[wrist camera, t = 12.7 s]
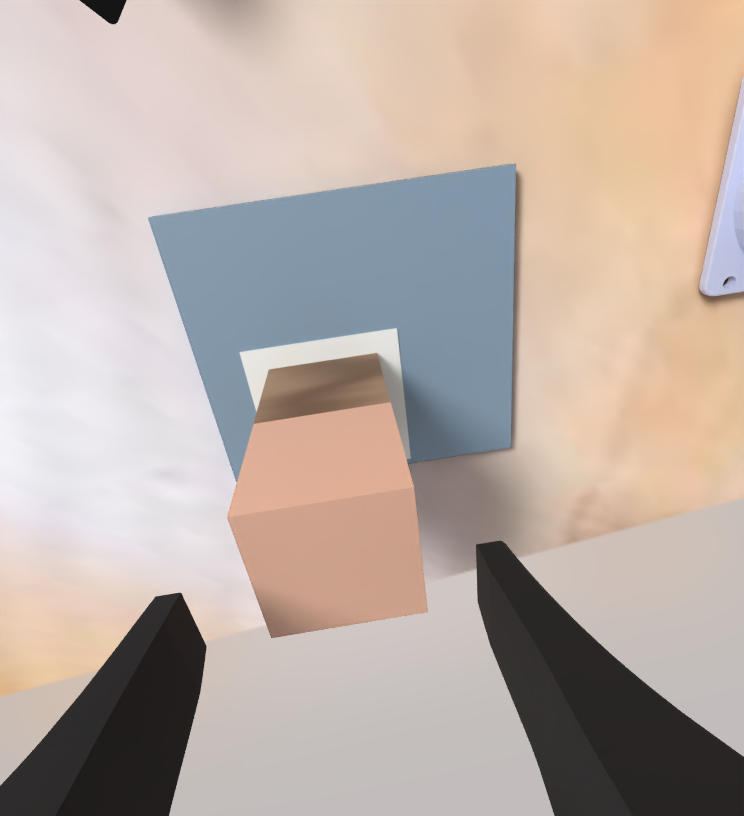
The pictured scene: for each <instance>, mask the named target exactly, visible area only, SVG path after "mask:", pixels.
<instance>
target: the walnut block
mask: <svg viewBox="0 0 744 816" xmlns="http://www.w3.org/2000/svg"><path fill="white" fill-rule="evenodd" d="M389 402H390V398H389V394H388V391H387V387H386V384H385V380H384V376H383V373H382V369H381V365H380V362H379V358H378V355H377V353H373V354H366V355H360V356H353V357H347V358H340V359H334V360H327V361H321V362H314V363H308V364H301V365H295V366H288V367H282V368H275V369H269V371H268V374H267V378H266V381H265V385H264V388H263V392H262V395H261V399H260V402H259V406H258V409H257V413H256V416H255V420H254V423H253V424H256V423H262V422H269V421H275V420H281V419H288V418H294V417H300V416H306V415H313V414H319V413H325V412H332V411H338V410H344V409H351V408H357V407H363V406H370V405H376V404H382V403H389Z"/></svg>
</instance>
